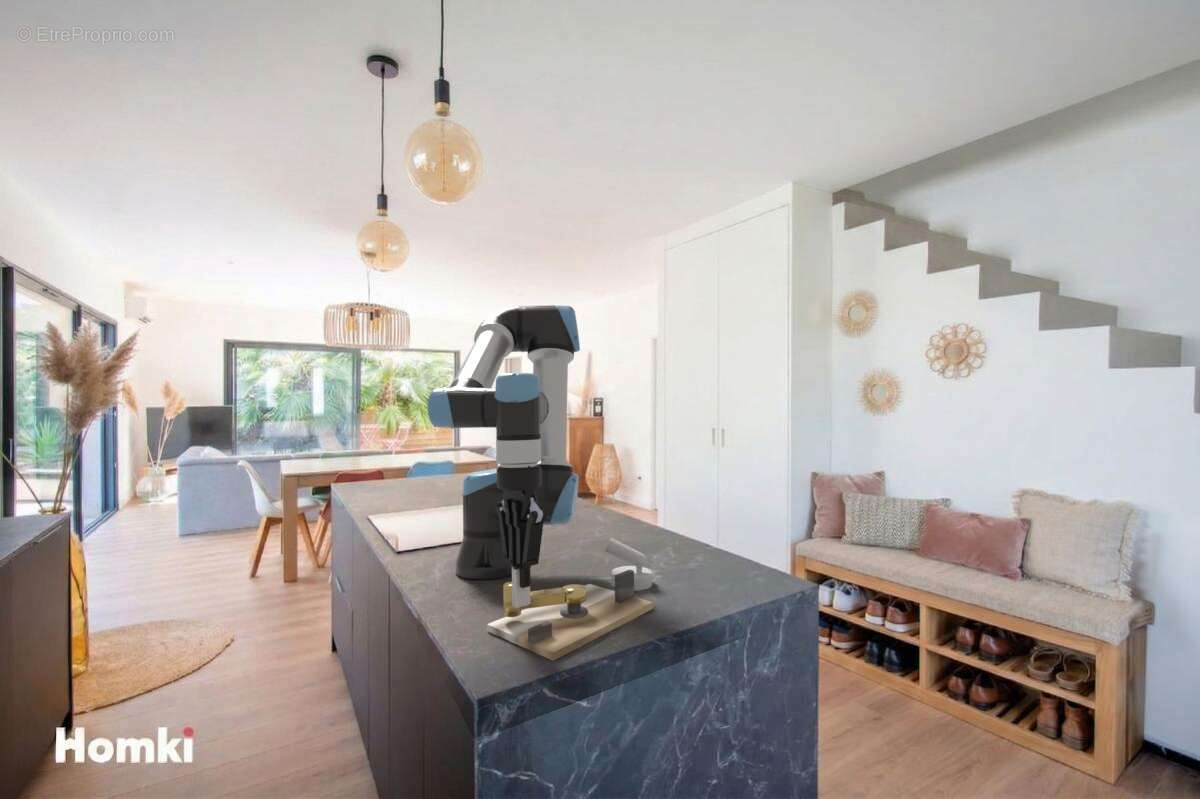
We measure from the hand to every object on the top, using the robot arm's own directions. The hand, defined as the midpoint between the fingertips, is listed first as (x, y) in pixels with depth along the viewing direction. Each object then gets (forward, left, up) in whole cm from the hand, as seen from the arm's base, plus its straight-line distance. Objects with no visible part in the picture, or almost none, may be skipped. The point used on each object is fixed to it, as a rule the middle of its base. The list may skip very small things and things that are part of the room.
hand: (521, 604), depth 88 cm
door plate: (+3, +10, -5) cm, 11 cm away
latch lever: (0, +5, -2) cm, 6 cm away
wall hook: (-1, +31, -5) cm, 31 cm away
